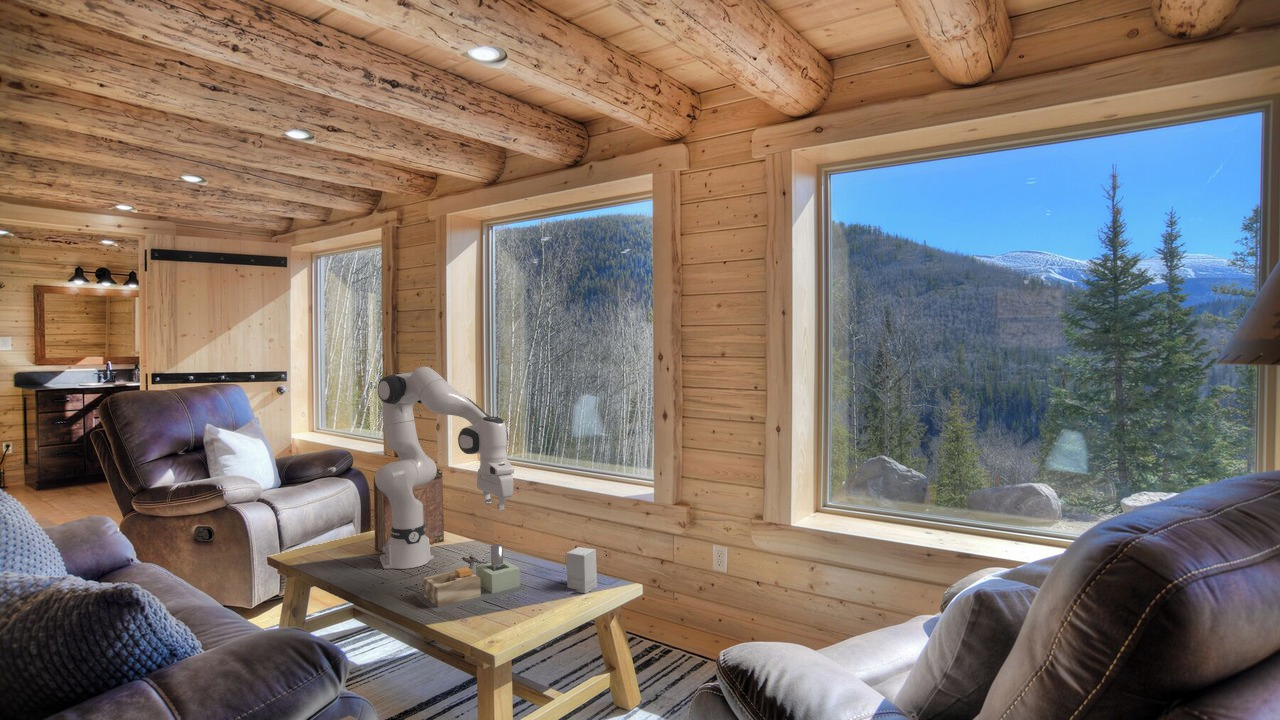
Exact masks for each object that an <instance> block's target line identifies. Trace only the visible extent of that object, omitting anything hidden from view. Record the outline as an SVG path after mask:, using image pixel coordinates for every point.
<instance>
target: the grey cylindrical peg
mask: <svg viewBox="0 0 1280 720" xmlns="http://www.w3.org/2000/svg"><path fill="white" fill-rule="evenodd" d="M503 560H504V545H503V544H501V543H500V544H499V543H497V544H492V545H490V563H491V570H492V571H497V570H501V569H504V566H503Z"/></svg>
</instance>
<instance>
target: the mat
mask: <svg viewBox="0 0 1280 720" xmlns="http://www.w3.org/2000/svg"><path fill="white" fill-rule="evenodd" d="M527 589H529V588H528V587H526V586H525V585H523V584H521V583H520V586H519V587H515V588H511V589H507V590H504V591H500V592H496V593H491V592H489V591H488V590H486V589H485V588H483V587H481V596H480V597H477V598H473V599H469V600H465V601H461V602H457V603H453V604H450V605H446V606H442V607H437V606H436V605H434V604H433V603H432V602H430V601H429V600H428V599H427V598H425V597H424V592H419V593H417V594H414V596H415V597H416V599H418V600H419V601H421V602H422V603H423V604H424V605H426V606H427V607H429V608H430V609H431V610H432V611H433V612H434V613H440V612H444V611H447V610H453V609H455V608H459V607H463V606H466V605H471V604H475V603H478V602H481V601H487V600H489V599H492V598H493V599H494V598H497V597H502V596H504V595H505V596H506V595H508V594H512V593H516V592H520V591H524V590H527Z"/></svg>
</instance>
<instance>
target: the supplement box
mask: <svg viewBox="0 0 1280 720" xmlns="http://www.w3.org/2000/svg"><path fill="white" fill-rule="evenodd" d="M565 554H566V584H567V585H566V586H567V588H568V589H573V592H575V591H576V593H580V592H581V593H582V594H587V593H588V592H590V591H592V590H594V589H596V588H597V587H598V577H597V576H598V573H597V569H598V568H597V549H595V548H589V547H588V548H587V547H580V546H578V547H575V548H573V549H571V550H570V551H567V552H565ZM581 593H580V594H581Z"/></svg>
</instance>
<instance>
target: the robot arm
mask: <svg viewBox="0 0 1280 720" xmlns="http://www.w3.org/2000/svg"><path fill="white" fill-rule="evenodd" d="M377 394H378V397H379V399H380V400H381V401H382V404H383V405H382V421H383V428H384V435H385V436H384V437H385V442H386V443H385V444H386V445H387V447H388V448H389V449H390V450H393V451H394V452H395V453H396V454H397V456H398V459H399V460H397V461H393V462H389V463H386V464H384V465H382V466H380V467H379V468H378V469H377V470H376V472H375V475H374V476H375V483H376V486H377V487H378V489H379V490H380V491H382V492H383V493H385V494H386V496H387V497H388V499H389V501H390V504H391V509H392V524H393V526H392V528H391V538H390V539H389V540H388V542H387V543H386V547H382V551H383V552H382V551H381V552H382V554H381V555H379V561H380V563H381V566H382V568H383V569H384V570H385V569H395V570H396V569H399V570H401V569H402V570H403V569H413V568H417V567H421V566H424V565H426V564H428V563H429V562H430V561H432V560H433V559H435V556H434V554H431V548H430V547H431V545H429V538H428V537H427V536H425V524H424V521H423V504H422V502H421V501H419V500H418V499H416V498H415V497H414V495H413V491H412V488H414V487H417V486H421V485H424V484H426V483H428V482H430V481H431V480H433V479H434V478H435V476H436V473H437V469H438V468H437V464H436V462H435V461H434V460H433V458H430V456H428V455H427V454H426V453H425V451H424V450H423V447H422V446H421V444H420V442H419V437H418V432H417V427H416V421H415V415H414V405H415V404H416V403H418V404H423V405H424V406H425V408H427V409H428V410H429V411H431V412H432V413H434V414H436V415H447V416H456V417H459V418H462V419H465V420H466V421H468V422H469V423H470V424H471V425H469V426H466V427H463V428H461V430H460V432H459V433H458V437H457V443H458V447H459V448H460V450H461V451H462V452H463V453H464V454H466V455H476V454H477V455H478V454H479V455H480V457H479V459H480V461H479V462H480V463H479V468H478V470H477V473H476V475H477V476H476V486H477V489H478V490H480V491H482V494H483V497H484V498H483V499H484V504H485V505H486V506H487V505H488V506H489V505H492V502H493V501H492V498H491V495H492V496H496V497H497V498H498V504H497V510H500V511H502V510H504V509H505V503H506V500H507V499H510V498H512V496H513V495H514V476H513V474H514V472H515V467H514V466H513V465H512V464H511V463H510V461H509V460H508V454H507V446H508V445H507V444H508V441H509V432H508V430H507V427H506V423H505V420H504V419H502V418H501V417H498V416H492V415H491V416H490V415H489V414H487V413H486V412H485V411H484V410H483V409H482V408H480V406H479V405H477V404H476V402H474V401H473V400H471V399H470V398H469V397H467V396H466V395H464V394H462V393H460V392H459V391H458V390H456V389H455V388H454V387H452V386H451V385H450V384H449V383H448V382H447V380H446V379H445V378H443V377H442V376H441V375H440V374H439V373H438V372H437V371H436V370H434V369H433V368H431V367H429V366H420V367H417V368H415V370H413V371H411V372H403V373H398V374H397V373H396V374H389V375H385V376H384V377H381V379H380V380H379V381H378V384H377ZM385 553H386V554H385Z"/></svg>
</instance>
